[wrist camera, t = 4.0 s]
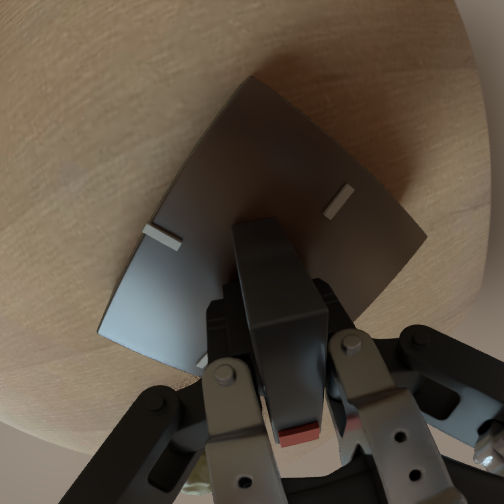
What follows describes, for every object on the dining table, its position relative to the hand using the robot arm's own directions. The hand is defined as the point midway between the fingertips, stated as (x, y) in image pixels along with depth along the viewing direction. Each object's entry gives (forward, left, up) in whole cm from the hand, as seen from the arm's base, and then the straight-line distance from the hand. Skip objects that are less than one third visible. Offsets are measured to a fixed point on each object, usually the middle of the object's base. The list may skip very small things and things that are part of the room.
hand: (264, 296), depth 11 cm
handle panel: (0, 0, -3) cm, 3 cm away
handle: (0, 0, 0) cm, 0 cm away
